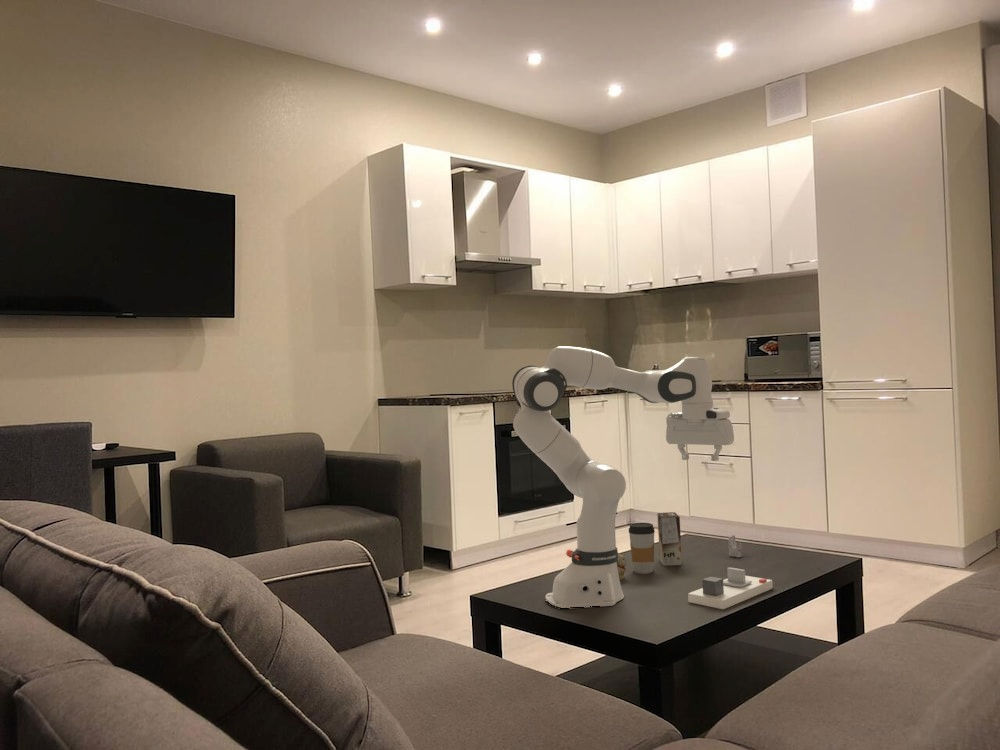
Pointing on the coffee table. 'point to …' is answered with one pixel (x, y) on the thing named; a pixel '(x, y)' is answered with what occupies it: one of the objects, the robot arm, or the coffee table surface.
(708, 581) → the dark grey cube
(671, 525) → the coffee box
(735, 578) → the grey lid with handle
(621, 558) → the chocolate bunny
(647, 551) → the coffee cup
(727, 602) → the socket plate
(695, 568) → the coffee table surface
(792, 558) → the coffee table surface
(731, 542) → the grey uneven upright piece
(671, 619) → the coffee table surface
